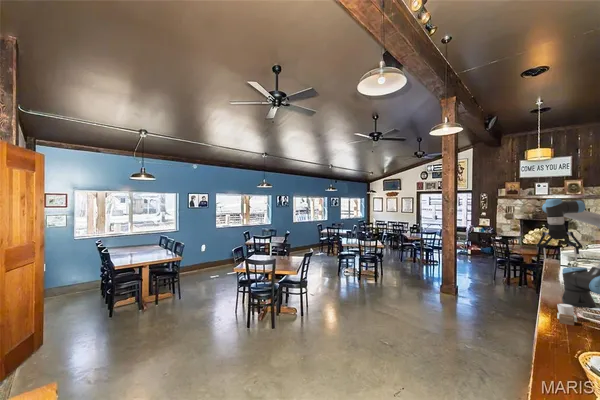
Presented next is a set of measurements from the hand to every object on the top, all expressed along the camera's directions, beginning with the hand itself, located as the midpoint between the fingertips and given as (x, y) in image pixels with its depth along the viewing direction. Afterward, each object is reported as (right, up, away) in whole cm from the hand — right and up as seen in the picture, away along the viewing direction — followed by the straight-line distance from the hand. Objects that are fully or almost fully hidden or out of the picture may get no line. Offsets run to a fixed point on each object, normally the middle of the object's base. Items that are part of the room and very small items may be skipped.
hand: (560, 259), depth 166 cm
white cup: (-7, -31, -12) cm, 34 cm away
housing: (-13, -32, -17) cm, 38 cm away
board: (-6, -31, -10) cm, 34 cm away
